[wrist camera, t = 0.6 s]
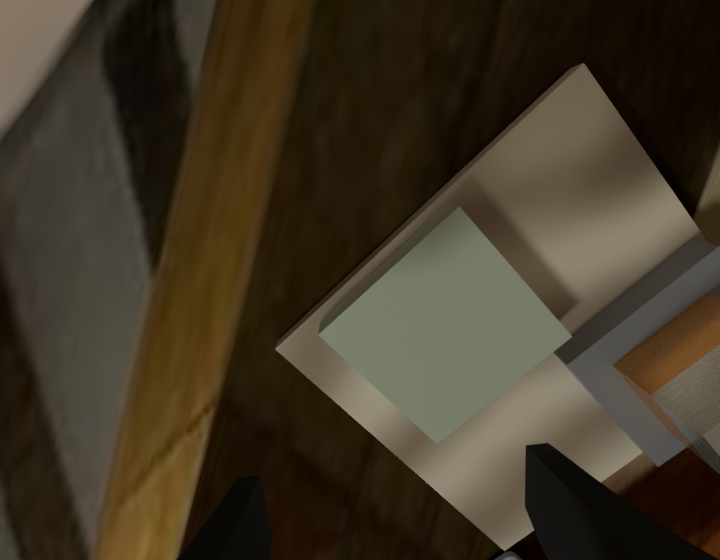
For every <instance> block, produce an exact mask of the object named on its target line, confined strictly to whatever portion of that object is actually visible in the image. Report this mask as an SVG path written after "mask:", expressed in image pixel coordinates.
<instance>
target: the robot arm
mask: <svg viewBox="0 0 720 560" xmlns="http://www.w3.org/2000/svg"><path fill="white" fill-rule="evenodd" d="M525 508H526V510H527V513H528V516H529V518H530V521H531V523H532V526H533V528H534V530H535V533H536V535H537V538H538V540H539V542H540V545H541V547H542V549H543V551H544V553H545V555H546V556H547V558H548V560H718V559H717V558H715V557H713V556H712V555H710V554H708V553H706V552H705V551H703V550H701V549H700V548H698V547H696V546H694V545H693V544H691V543H689V542H688V541H686V540H684V539H683V538H681V537H680V536H678V535H676V534H675V533H673V532H672V531H670V530H668V529H667V528H665V527H664V526H662V525H661V524H659V523H658V522H656V521H655V520H653V519H652V518H650V517H649V516H647V515H646V514H644V513H643V512H641V511H640V510H638V509H637V508H635V507H634V506H632V505H631V504H630V503H628V502H627V501H625V500H624V499H622V498H621V497H620V496H618V495H617V494H615V493H614V492H613V491H611V490H610V489H609V488H607V487H606V486H604V485H603V484H602V483H600V482H599V481H598V480H596V479H595V478H594V477H592V476H591V475H590V474H588V473H587V472H586V471H585V470H583V469H582V468H581V467H579V466H578V465H577V464H575V463H574V462H573V461H571V460H570V459H569V458H568V457H566V456H565V455H564V454H562V453H561V452H560V451H558V450H557V449H556V448H554V447H553V446H552V445H550V444H549V443H542V444H533V445H526V456H525ZM271 544H272V531H271V526H270V521H269V516H268V512H267V507H266V502H265V497H264V492H263V487H262V482H261V478H260V476H251V477H242V478H237V479H236V480H235V482H234V483H233V484H232V486H231V487H230V488H229V490H228V491H227V493H226V494H225V496H224V497H223V498H222V500H221V501H220V503H219V504H218V505H217V507H216V508H215V510H214V511H213V512H212V514H211V515H210V517H209V518H208V519H207V521H206V522H205V523H204V525H203V526H202V527H201V529H200V530H199V531H198V533H197V534H196V535H195V537H194V538H193V539H192V541H191V542H190V543H189V545H188V546H187V547H186V549H185V550H184V551H183V552H182V554H181V555H180V556H179V557H178V559H177V560H270V554H271ZM495 560H522V559H521V558H520V557H519V556H518V555H517V554H515V553H514V552H511V551H508V552H505V553H503V554H502V555H500V556H499V557H497V558H496V559H495Z"/></svg>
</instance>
